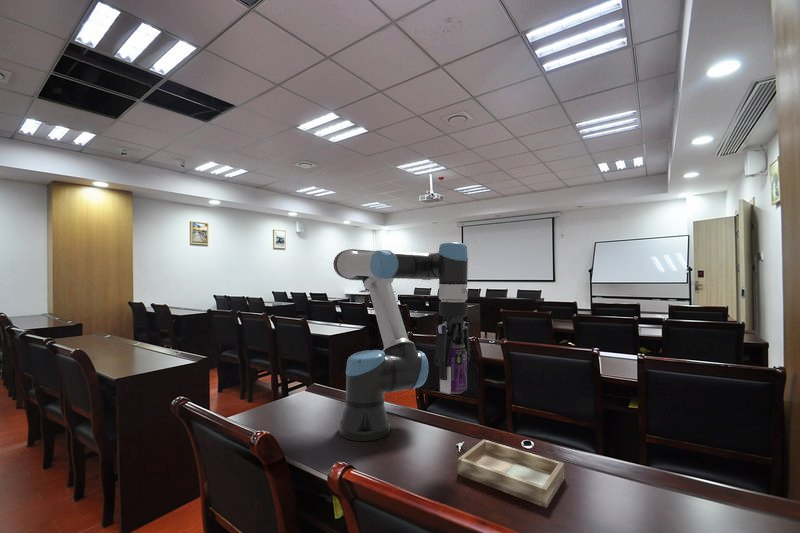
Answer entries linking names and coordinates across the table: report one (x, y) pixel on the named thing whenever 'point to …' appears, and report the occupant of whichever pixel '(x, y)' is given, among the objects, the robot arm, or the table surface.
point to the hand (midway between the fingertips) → (453, 389)
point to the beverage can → (458, 368)
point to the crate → (513, 471)
